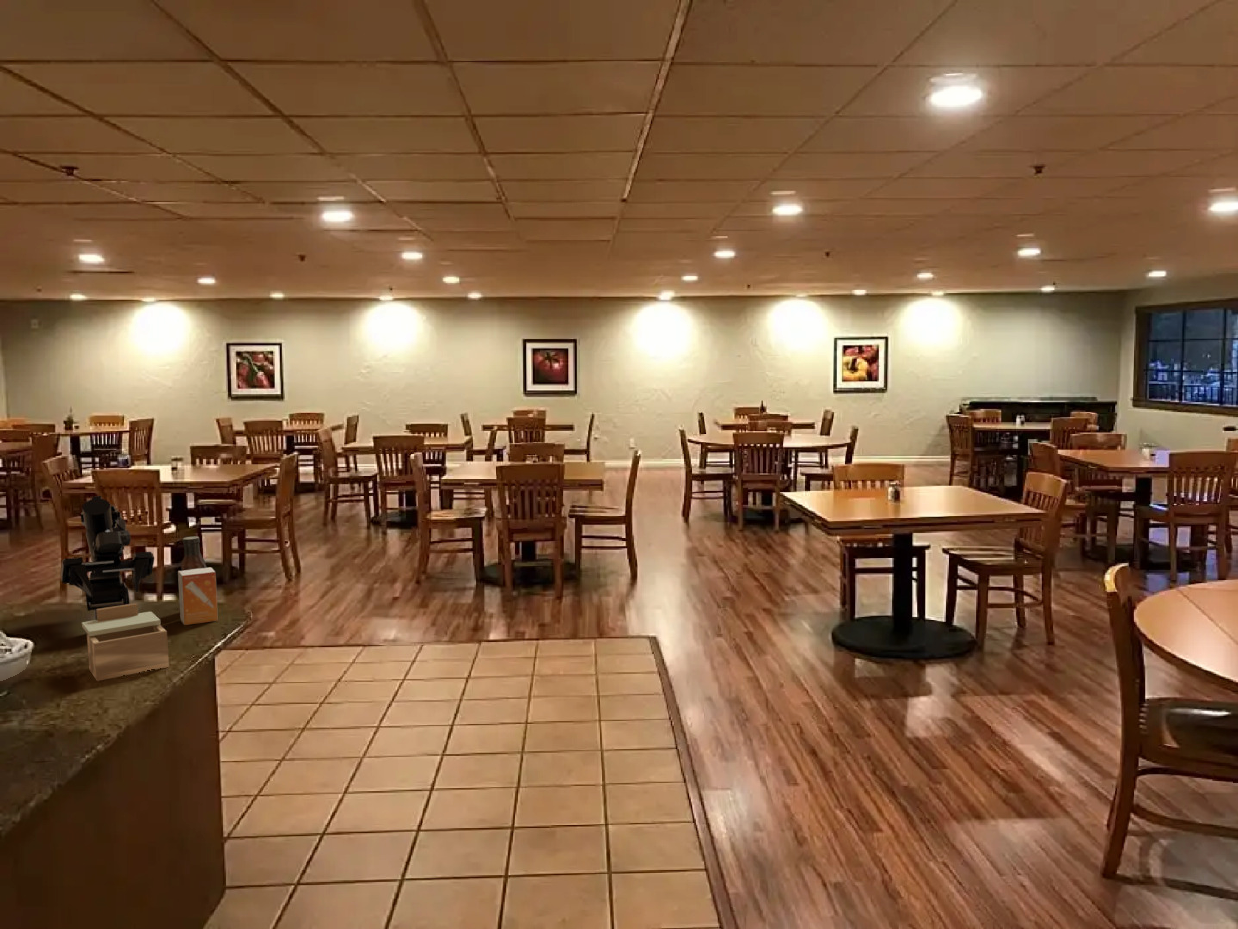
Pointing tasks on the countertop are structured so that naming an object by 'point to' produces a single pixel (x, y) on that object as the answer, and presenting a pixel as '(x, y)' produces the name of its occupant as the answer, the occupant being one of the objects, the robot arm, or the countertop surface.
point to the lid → (119, 620)
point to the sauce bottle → (192, 554)
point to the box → (127, 652)
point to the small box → (197, 595)
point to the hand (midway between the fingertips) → (114, 592)
